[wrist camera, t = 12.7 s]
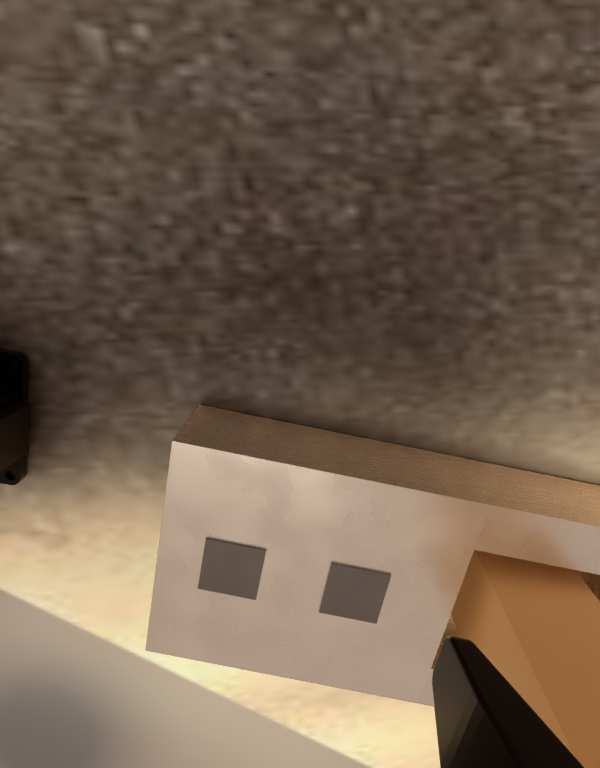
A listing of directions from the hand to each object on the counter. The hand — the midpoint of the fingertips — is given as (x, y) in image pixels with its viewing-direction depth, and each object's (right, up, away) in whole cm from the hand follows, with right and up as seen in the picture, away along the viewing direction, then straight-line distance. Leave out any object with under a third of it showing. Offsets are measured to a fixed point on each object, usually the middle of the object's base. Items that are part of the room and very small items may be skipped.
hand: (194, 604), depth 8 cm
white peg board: (+6, -4, +14) cm, 16 cm away
